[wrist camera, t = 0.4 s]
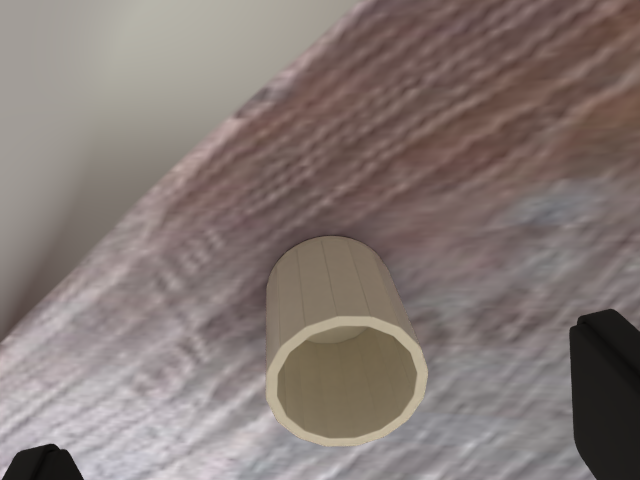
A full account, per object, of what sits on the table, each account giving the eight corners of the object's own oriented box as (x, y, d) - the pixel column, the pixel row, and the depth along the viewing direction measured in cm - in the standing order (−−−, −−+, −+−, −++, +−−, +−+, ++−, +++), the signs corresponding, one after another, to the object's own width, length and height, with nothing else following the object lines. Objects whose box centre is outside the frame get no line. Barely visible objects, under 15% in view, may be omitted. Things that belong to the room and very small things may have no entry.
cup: (239, 291, 31) (231, 386, 24) (335, 210, 29) (357, 285, 22) (323, 364, 33) (338, 470, 26) (415, 293, 32) (458, 384, 25)
